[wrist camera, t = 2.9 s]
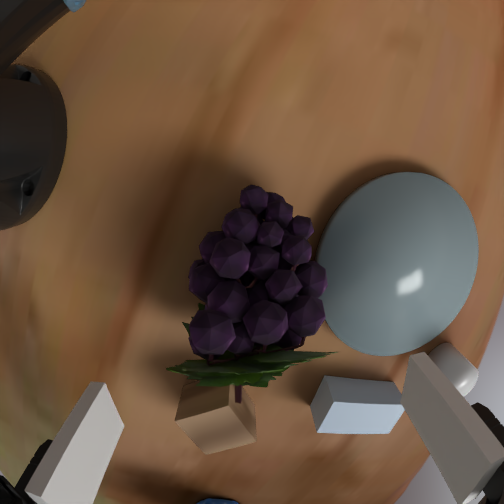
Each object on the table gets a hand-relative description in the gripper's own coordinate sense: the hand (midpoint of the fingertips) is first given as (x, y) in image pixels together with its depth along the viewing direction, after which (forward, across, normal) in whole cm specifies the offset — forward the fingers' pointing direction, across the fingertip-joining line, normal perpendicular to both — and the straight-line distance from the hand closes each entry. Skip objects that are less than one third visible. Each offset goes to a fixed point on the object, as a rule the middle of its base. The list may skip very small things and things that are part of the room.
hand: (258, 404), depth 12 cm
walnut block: (+13, -4, -11) cm, 18 cm away
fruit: (+13, 0, +1) cm, 13 cm away
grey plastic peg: (+13, +19, -11) cm, 25 cm away
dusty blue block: (+13, +9, -13) cm, 20 cm away
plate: (+13, +13, 0) cm, 18 cm away
